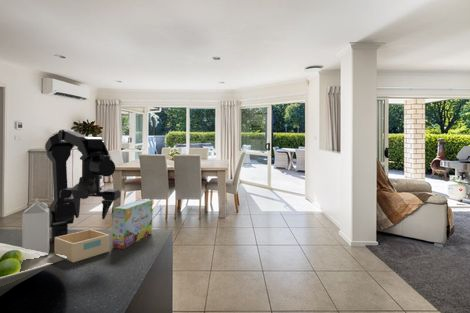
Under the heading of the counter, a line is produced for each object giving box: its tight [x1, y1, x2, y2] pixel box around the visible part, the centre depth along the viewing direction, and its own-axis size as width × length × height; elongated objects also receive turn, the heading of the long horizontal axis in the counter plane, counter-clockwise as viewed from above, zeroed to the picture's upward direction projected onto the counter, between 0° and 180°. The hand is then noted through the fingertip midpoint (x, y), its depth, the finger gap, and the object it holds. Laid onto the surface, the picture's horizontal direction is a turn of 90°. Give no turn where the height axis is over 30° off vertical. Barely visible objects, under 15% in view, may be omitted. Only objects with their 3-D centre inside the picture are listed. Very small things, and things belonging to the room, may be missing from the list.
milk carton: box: [21, 197, 50, 254], centre depth 104 cm, size 7×7×19 cm
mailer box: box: [54, 228, 108, 263], centre depth 106 cm, size 11×13×6 cm
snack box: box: [111, 198, 153, 250], centre depth 122 cm, size 21×6×15 cm, turn 168°
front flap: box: [71, 234, 111, 263], centre depth 103 cm, size 1×13×6 cm, turn 147°
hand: (90, 218), depth 105 cm, fingers open, 9 cm apart
